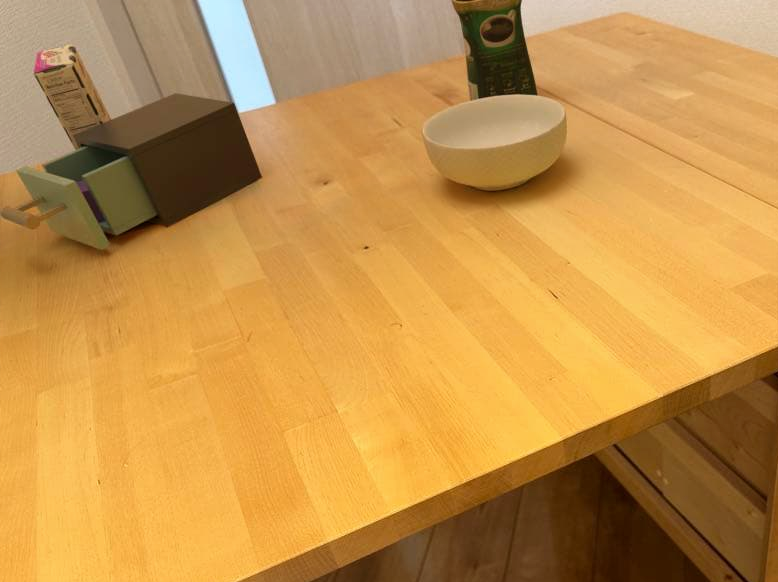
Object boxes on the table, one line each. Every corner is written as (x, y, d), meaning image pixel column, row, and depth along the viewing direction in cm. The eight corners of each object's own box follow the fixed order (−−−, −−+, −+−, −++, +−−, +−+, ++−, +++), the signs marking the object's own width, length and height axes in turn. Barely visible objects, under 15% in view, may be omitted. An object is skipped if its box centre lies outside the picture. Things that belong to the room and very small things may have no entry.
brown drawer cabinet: (167, 227, 92) (129, 149, 86) (111, 209, 99) (72, 135, 93) (262, 177, 101) (234, 102, 95) (205, 163, 107) (175, 93, 101)
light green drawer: (62, 270, 85) (23, 204, 80) (14, 249, 91) (-26, 187, 86) (199, 199, 95) (172, 137, 90) (148, 185, 101) (120, 126, 96)
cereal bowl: (590, 187, 86) (585, 125, 82) (448, 222, 84) (435, 160, 80) (548, 137, 99) (541, 81, 95) (423, 166, 97) (410, 111, 92)
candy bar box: (97, 170, 111) (35, 51, 100) (132, 160, 112) (75, 42, 102) (97, 197, 103) (30, 71, 92) (136, 186, 104) (74, 60, 93)
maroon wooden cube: (87, 214, 93) (70, 183, 91) (121, 204, 94) (105, 173, 92) (89, 226, 90) (72, 194, 88) (124, 215, 92) (108, 183, 89)
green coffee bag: (528, 89, 114) (510, -52, 103) (543, 105, 108) (525, -43, 97) (466, 103, 113) (440, -38, 101) (477, 120, 107) (451, -28, 95)
